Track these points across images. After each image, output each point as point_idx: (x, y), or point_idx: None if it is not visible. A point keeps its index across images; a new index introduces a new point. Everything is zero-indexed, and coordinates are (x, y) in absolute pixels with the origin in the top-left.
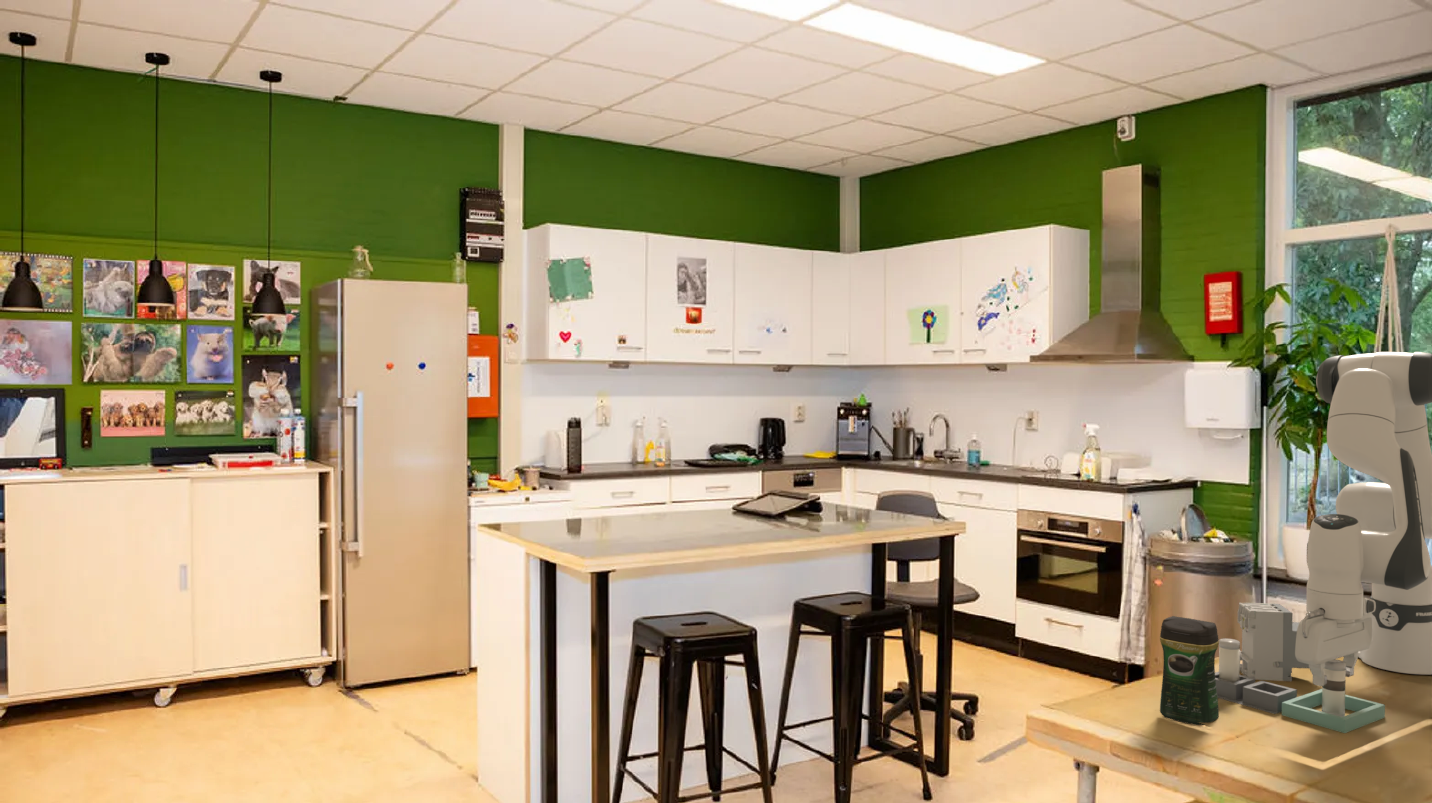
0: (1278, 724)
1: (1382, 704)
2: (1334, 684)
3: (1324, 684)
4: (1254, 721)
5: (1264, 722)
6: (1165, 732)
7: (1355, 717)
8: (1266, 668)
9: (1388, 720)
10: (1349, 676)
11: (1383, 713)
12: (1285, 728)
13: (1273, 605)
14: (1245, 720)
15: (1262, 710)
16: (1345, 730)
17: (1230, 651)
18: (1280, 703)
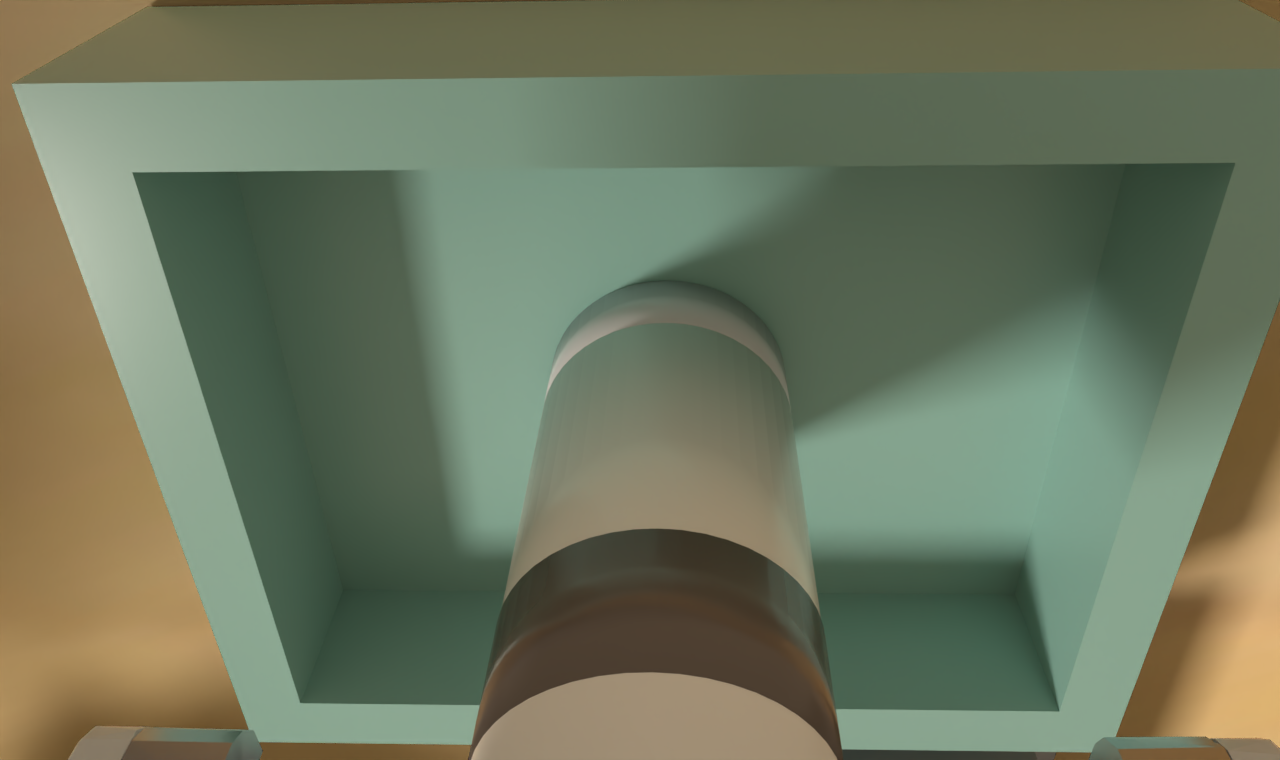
0: (1188, 571)
1: (39, 113)
2: (819, 689)
3: (1208, 749)
4: (1248, 689)
5: (1216, 645)
6: None
7: (1000, 65)
8: None
9: (10, 28)
10: (227, 731)
11: (123, 42)
12: (1273, 496)
13: None
14: (1271, 728)
15: (1052, 756)
16: (1263, 18)
17: None
18: (977, 753)
